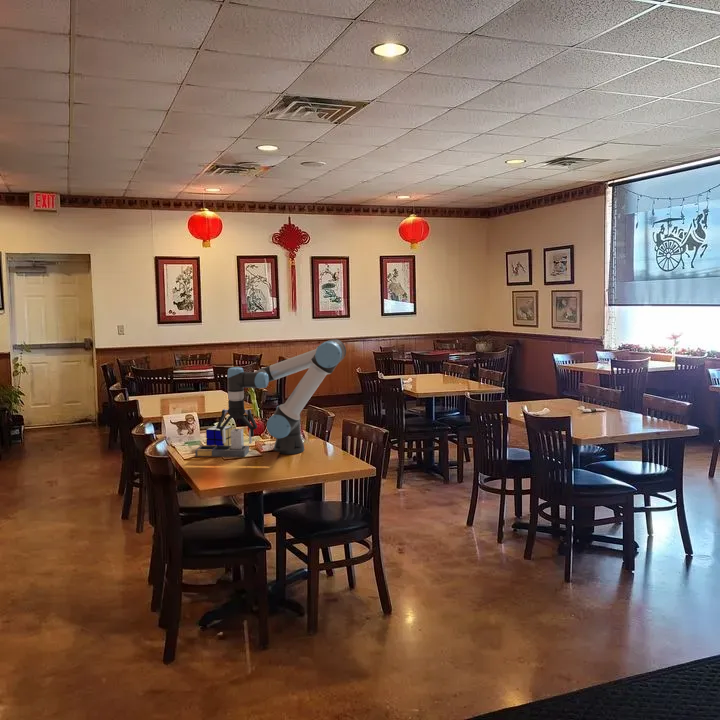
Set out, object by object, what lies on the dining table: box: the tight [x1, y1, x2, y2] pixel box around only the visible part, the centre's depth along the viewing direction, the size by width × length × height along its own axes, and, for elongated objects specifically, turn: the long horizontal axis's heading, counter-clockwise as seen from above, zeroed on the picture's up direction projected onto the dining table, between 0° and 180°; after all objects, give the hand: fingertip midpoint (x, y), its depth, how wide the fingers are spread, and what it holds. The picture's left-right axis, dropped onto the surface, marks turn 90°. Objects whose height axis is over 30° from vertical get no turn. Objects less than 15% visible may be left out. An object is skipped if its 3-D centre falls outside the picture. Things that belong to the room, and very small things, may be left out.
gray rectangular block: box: [231, 428, 245, 450], centre depth 350 cm, size 5×5×12 cm
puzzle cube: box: [205, 424, 233, 445], centre depth 369 cm, size 10×10×10 cm
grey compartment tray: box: [194, 444, 250, 458], centre depth 351 cm, size 24×10×4 cm, turn 87°
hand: (237, 442), depth 350 cm, fingers open, 12 cm apart
